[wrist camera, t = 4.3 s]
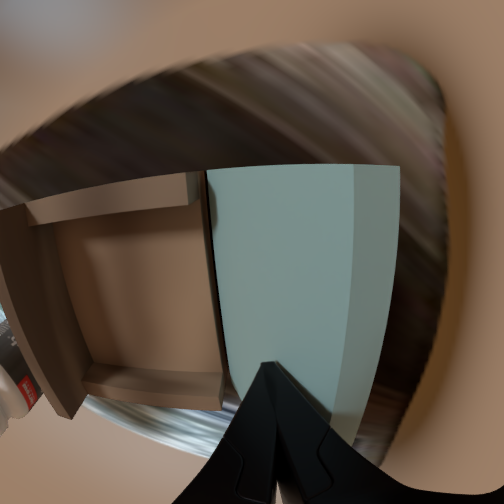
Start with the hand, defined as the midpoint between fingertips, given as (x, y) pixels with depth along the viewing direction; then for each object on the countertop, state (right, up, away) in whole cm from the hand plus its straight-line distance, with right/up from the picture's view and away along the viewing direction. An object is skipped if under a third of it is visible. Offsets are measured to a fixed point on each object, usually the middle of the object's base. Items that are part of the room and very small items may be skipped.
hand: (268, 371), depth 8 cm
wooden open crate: (-7, +2, +7) cm, 10 cm away
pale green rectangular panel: (-2, +2, +6) cm, 6 cm away
